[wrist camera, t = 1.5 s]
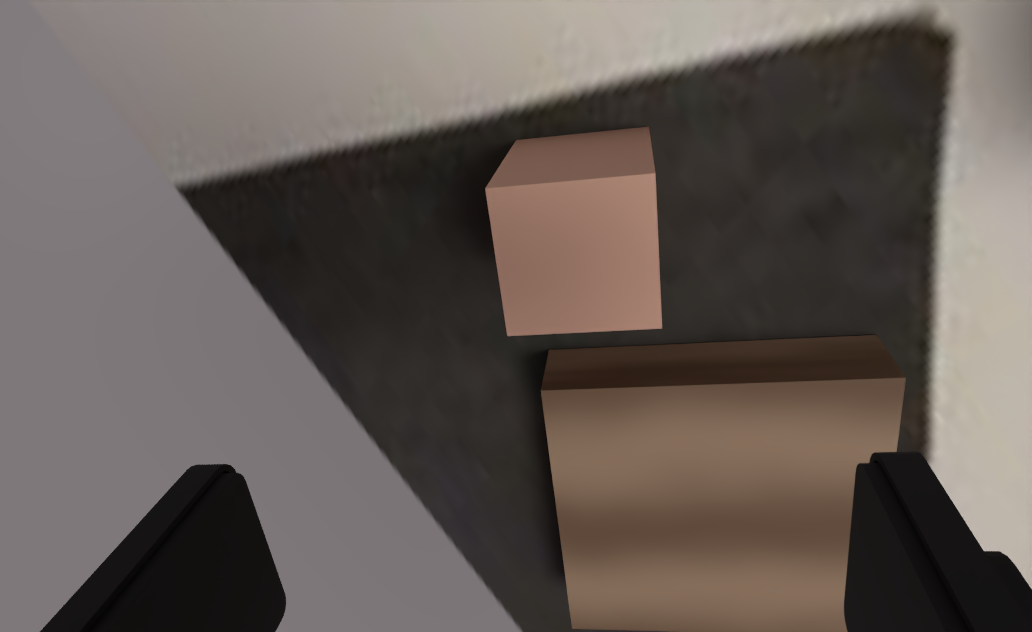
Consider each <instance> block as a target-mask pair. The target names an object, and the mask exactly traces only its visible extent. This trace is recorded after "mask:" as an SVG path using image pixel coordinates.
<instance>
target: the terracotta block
mask: <svg viewBox="0 0 1032 632" xmlns="http://www.w3.org/2000/svg"><path fill="white" fill-rule="evenodd" d="M485 191H486V197H487V204H488V211H489V217H490V224H491V231H492V237H493V244H494V250H495V257H496V264H497V270H498V277H499V284H500V290H501V297H502V304H503V310H504V317H505V324H506V330H507V336H520V335H540V334H561V333H581V332H601V331H621V330H641V329H662V315H661V292H660V269H659V246H658V224H657V201H656V178H655V168H654V161H653V154H652V146H651V139H650V132H649V127H641V128H631V129H621V130H611V131H601V132H591V133H582V134H572V135H562V136H552V137H542V138H532V139H523V140H516V141H515V143H514V144H513V146H512V147H511V149H510V151H509V152H508V154H507V155H506V157H505V158H504V160H503V161H502V163H501V165H500V166H499V168H498V169H497V171H496V172H495V174H494V175H493V177H492V179H491V180H490V182H489V183H488V185H487V186H486V188H485Z"/></svg>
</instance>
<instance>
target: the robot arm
mask: <svg viewBox="0 0 1032 632" xmlns="http://www.w3.org/2000/svg"><path fill="white" fill-rule="evenodd" d="M285 607H286V597H285V592H284V590H283V587H282V584H281V581H280V578H279V576H278V572H277V570H276V567H275V564H274V561H273V558H272V555H271V552H270V549H269V546H268V544H267V541H266V538H265V535H264V532H263V529H262V527H261V524H260V521H259V518H258V515H257V512H256V509H255V506H254V503H253V501H252V498H251V495H250V492H249V489H248V486H247V483H246V481H245V479H244V477H243V476H242V475H241V474H239V473H236V471H235V469H234V468H233V467H232V466H231V465H227V464H219V465H218V464H217V465H216V464H214V465H195V466H191V467H190V468H189V469H188V470H187V471H186V472H185V473H184V474H183V475H182V476H181V477H180V478H179V479H178V481H177V482H176V483H175V484H174V485H173V486H172V487H171V488H170V489H169V490H168V491H167V493H166V494H165V495H164V496H163V497H162V498H161V499H160V500H159V501H158V503H157V504H156V505H155V506H154V507H153V508H152V509H151V510H150V511H149V512H148V513H147V515H146V516H145V517H144V518H143V519H142V520H141V521H140V522H139V524H138V525H137V526H136V527H135V528H134V529H133V530H132V531H131V532H130V533H129V534H128V535H127V537H126V538H125V539H124V540H123V541H122V542H121V543H120V544H119V546H118V547H117V548H116V549H115V550H114V551H113V552H112V553H111V554H110V555H109V556H108V557H107V559H106V560H105V561H104V562H103V563H102V564H101V565H100V566H99V568H97V570H96V571H95V572H94V573H93V574H92V575H91V576H90V577H89V578H88V579H87V581H86V582H85V583H84V584H83V585H82V586H81V587H80V588H79V589H78V591H77V592H76V593H75V594H74V595H73V596H72V597H71V598H70V599H69V600H68V602H67V603H66V604H65V605H64V606H63V607H62V608H61V609H60V610H59V611H58V613H57V614H56V615H55V616H54V617H53V618H52V619H51V620H50V622H48V624H47V625H46V626H45V627H44V628H43V629H42V630H41V631H40V632H275V631H276V629H277V628H278V626H279V624H280V622H281V620H282V618H283V616H284V612H285ZM844 617H845V623H846V628H847V632H1032V589H1031V588H1030V586H1029V585H1028V584H1027V582H1026V581H1025V579H1024V578H1023V576H1022V575H1021V573H1020V572H1019V570H1018V569H1017V567H1016V566H1015V565H1014V563H1013V562H1012V561H1011V560H1010V559H1009V558H1008V556H1006V555H1005V554H1003V553H1001V552H999V551H983V549H982V548H981V546H980V545H979V543H978V541H977V540H976V538H975V537H974V535H973V534H972V532H971V530H970V529H969V527H968V526H967V524H966V523H965V521H964V519H963V518H962V516H961V515H960V513H959V512H958V510H957V508H956V507H955V505H954V504H953V502H952V501H951V499H950V497H949V496H948V494H947V493H946V491H945V490H944V488H943V486H942V485H941V483H940V482H939V480H938V479H937V477H936V475H935V474H934V472H933V471H932V469H931V468H930V466H929V464H928V463H927V461H926V460H925V458H924V457H923V456H922V454H921V453H919V452H875V453H873V454H872V455H871V457H870V462H869V463H859V464H858V465H857V467H856V473H855V484H854V496H853V507H852V518H851V529H850V540H849V552H848V563H847V574H846V585H845V596H844Z"/></svg>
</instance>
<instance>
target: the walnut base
mask: <svg viewBox="0 0 1032 632" xmlns="http://www.w3.org/2000/svg"><path fill="white" fill-rule="evenodd" d="M905 381H906V377H905V376H904V374H903V373H902V371H901V370H900V368H899V367H898V366H897V364H896V363H895V361H894V360H893V358H892V357H891V355H890V354H889V352H888V351H887V349H886V348H885V347H884V345H883V344H882V342H881V341H880V339H879V338H878V336H877V335H862V336H840V337H818V338H797V339H775V340H753V341H731V342H709V343H688V344H666V345H644V346H622V347H600V348H579V349H557V350H549V352H548V357H547V362H546V367H545V372H544V377H543V382H542V387H541V396H542V404H543V412H544V419H545V427H546V434H547V442H548V449H549V457H550V464H551V472H552V480H553V487H554V495H555V502H556V510H557V517H558V525H559V532H560V540H561V548H562V555H563V563H564V570H565V578H566V585H567V593H568V600H569V608H570V616H571V623H572V629H604V630H642V631H679V632H847V628H846V623H845V617H844V596H845V585H846V574H847V563H848V552H849V540H850V529H851V518H852V507H853V496H854V484H855V473H856V467H857V465H858V464H859V463H869V462H870V457H871V455H872V454H873V453H875V452H896V451H897V443H898V436H899V428H900V420H901V412H902V404H903V396H904V389H905Z"/></svg>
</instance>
